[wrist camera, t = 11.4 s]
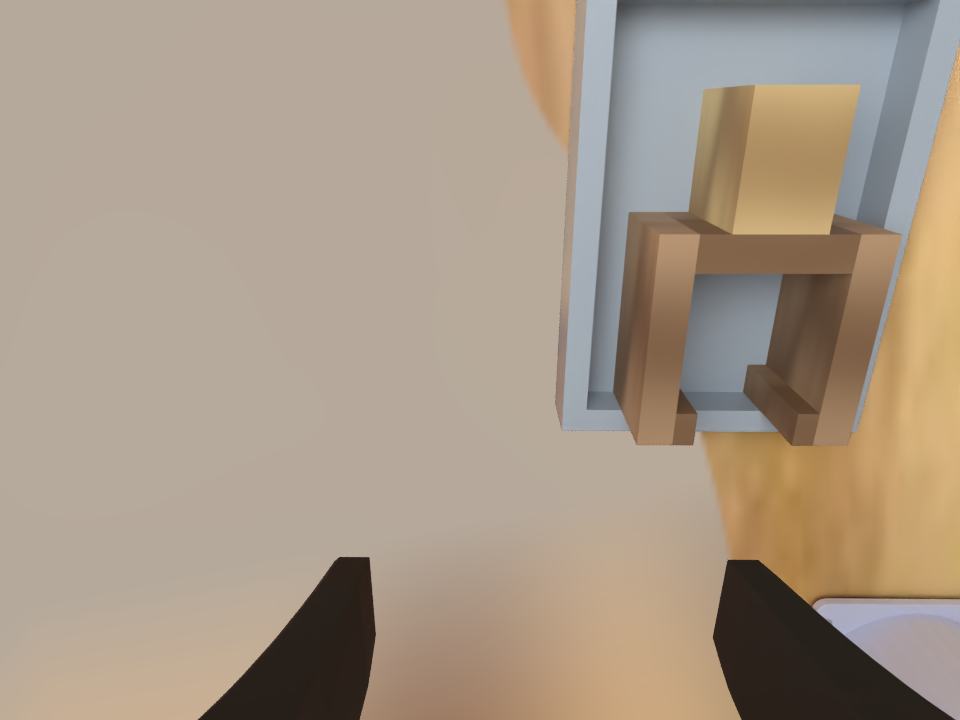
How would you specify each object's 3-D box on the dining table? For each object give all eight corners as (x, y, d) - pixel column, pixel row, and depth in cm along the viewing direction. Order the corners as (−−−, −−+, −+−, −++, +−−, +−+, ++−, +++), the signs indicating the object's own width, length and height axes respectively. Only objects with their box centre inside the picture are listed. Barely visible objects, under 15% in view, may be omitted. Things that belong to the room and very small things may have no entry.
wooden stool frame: (790, 391, 21) (847, 445, 18) (613, 391, 21) (636, 445, 18) (853, 88, 17) (940, 84, 14) (639, 89, 17) (676, 84, 14)
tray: (825, 404, 22) (856, 432, 20) (555, 403, 22) (561, 430, 20) (926, -24, 17) (981, -40, 15) (577, -24, 17) (589, -41, 15)
